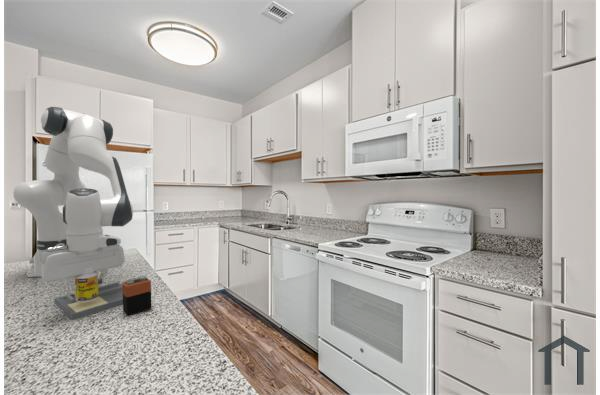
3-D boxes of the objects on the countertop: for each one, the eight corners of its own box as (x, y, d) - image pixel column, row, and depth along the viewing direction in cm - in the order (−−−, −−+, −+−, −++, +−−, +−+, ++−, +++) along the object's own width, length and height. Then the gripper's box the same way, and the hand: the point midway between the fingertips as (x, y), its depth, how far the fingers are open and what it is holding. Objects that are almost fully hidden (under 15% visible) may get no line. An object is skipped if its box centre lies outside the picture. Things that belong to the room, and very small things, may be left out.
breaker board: (54, 302, 91) (54, 294, 91) (117, 286, 105) (117, 278, 105) (72, 319, 80) (72, 310, 80) (139, 298, 95) (139, 290, 94)
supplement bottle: (75, 305, 83) (73, 271, 82) (77, 298, 87) (75, 265, 87) (98, 300, 86) (97, 267, 85) (99, 294, 91) (97, 263, 90)
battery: (151, 308, 88) (151, 277, 87) (127, 316, 83) (126, 283, 82) (146, 304, 91) (146, 273, 90) (122, 311, 86) (121, 279, 85)
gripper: (42, 250, 75) (45, 301, 76) (126, 238, 92) (127, 280, 93) (36, 247, 79) (39, 295, 80) (118, 235, 95) (119, 275, 96)
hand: (87, 286), depth 87 cm, fingers closed on supplement bottle, 5 cm apart
